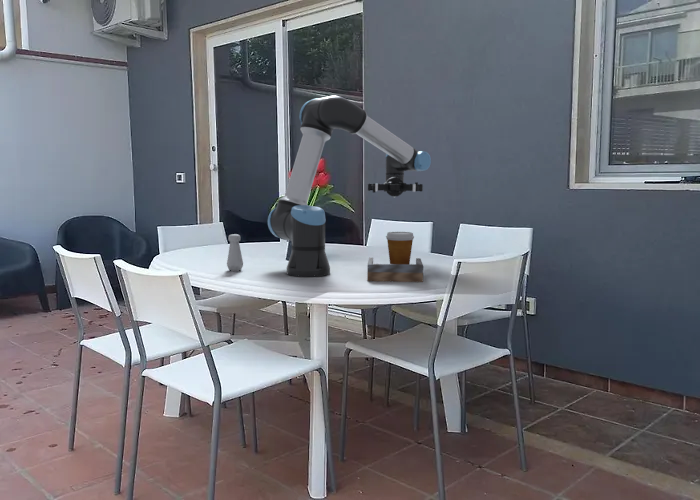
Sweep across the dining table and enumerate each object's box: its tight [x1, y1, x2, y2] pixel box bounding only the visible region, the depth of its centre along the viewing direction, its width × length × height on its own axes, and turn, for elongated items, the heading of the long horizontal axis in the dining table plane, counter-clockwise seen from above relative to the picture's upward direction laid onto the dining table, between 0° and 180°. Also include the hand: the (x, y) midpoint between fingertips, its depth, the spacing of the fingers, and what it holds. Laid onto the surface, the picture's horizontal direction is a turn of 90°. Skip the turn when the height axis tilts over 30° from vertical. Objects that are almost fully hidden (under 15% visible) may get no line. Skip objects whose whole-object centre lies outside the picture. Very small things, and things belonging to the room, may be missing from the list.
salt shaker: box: [226, 233, 244, 272], centre depth 215 cm, size 6×6×13 cm
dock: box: [366, 257, 424, 283], centre depth 203 cm, size 18×16×6 cm
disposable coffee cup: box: [385, 231, 415, 264], centre depth 203 cm, size 10×10×12 cm
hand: (395, 187), depth 215 cm, fingers open, 13 cm apart
